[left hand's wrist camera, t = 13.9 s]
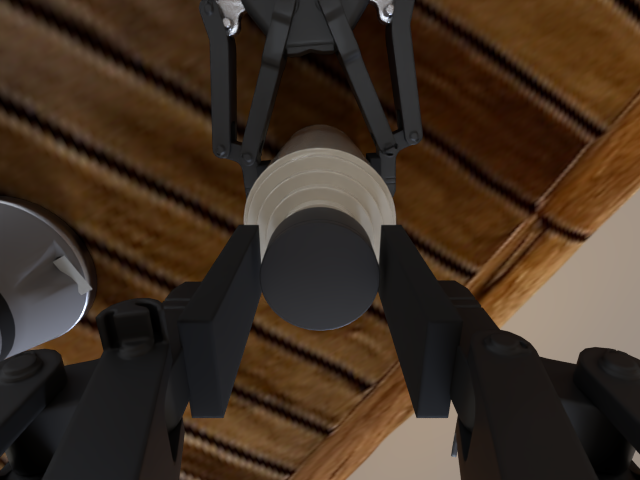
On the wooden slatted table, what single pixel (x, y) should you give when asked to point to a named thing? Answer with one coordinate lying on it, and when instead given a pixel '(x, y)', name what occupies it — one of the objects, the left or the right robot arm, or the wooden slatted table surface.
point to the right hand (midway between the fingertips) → (324, 240)
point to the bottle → (320, 184)
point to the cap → (319, 269)
